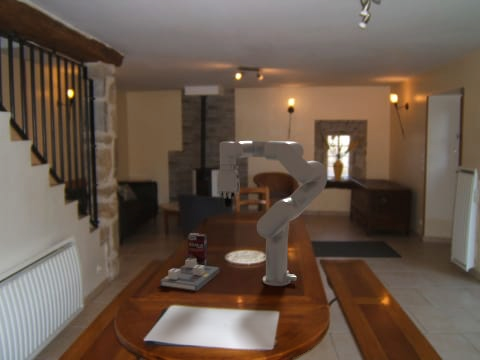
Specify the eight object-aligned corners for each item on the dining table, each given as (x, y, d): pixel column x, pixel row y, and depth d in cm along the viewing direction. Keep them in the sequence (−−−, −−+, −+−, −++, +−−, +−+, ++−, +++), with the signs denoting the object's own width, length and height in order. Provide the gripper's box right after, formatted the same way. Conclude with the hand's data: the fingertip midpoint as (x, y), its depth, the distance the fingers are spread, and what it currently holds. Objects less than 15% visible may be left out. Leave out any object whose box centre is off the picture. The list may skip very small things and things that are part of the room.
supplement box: (188, 265, 209) (187, 235, 207) (191, 262, 213) (190, 232, 211) (204, 266, 207) (203, 235, 205) (207, 263, 212) (206, 233, 210)
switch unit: (219, 272, 198) (219, 267, 198) (196, 291, 176) (196, 285, 176) (186, 268, 205) (185, 263, 204) (160, 285, 182) (160, 280, 182)
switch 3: (204, 272, 190) (204, 264, 189) (200, 275, 186) (200, 267, 186) (196, 271, 191) (196, 264, 191) (193, 274, 187) (192, 266, 187)
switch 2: (196, 265, 200) (196, 257, 199) (192, 268, 196) (192, 260, 196) (189, 264, 201) (189, 257, 201) (185, 267, 198) (185, 259, 197)
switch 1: (180, 276, 185) (180, 268, 185) (176, 279, 181) (176, 271, 181) (173, 275, 186) (172, 267, 186) (168, 278, 183) (168, 270, 182)
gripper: (245, 167, 194) (245, 205, 197) (216, 166, 199) (217, 204, 202) (240, 169, 187) (240, 208, 190) (210, 168, 192) (210, 207, 195)
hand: (228, 206), depth 196 cm, fingers closed
